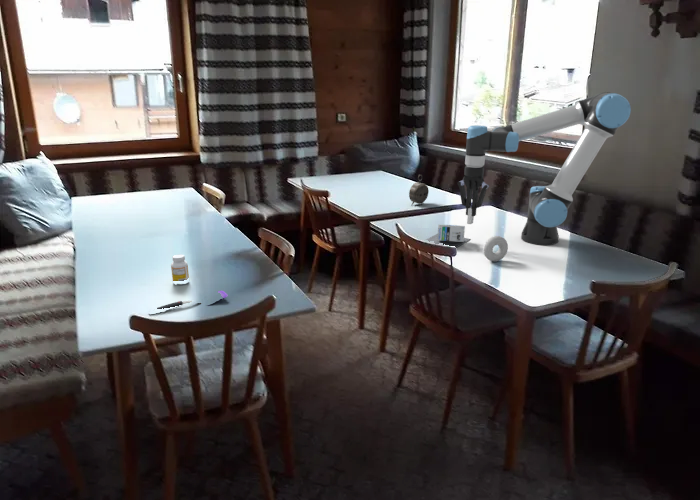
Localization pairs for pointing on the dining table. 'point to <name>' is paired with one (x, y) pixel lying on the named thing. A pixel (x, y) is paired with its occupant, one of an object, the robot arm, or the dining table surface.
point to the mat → (450, 243)
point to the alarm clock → (418, 192)
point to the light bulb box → (451, 233)
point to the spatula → (187, 301)
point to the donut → (501, 251)
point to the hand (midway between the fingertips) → (470, 223)
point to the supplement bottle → (179, 268)
